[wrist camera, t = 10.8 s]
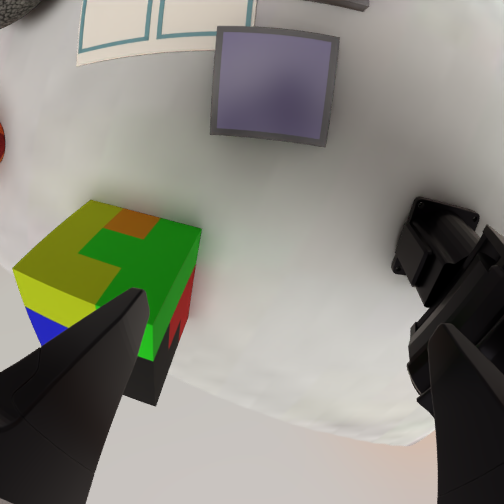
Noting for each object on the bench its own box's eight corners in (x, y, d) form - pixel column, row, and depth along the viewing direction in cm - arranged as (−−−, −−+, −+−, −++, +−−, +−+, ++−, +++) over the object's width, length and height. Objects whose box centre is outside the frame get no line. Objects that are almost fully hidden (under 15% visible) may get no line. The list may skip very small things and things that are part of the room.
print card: (262, -50, 10) (261, -52, 10) (252, 51, 15) (251, 50, 14) (87, -23, 11) (85, -23, 11) (78, 66, 15) (75, 66, 15)
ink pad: (336, 40, 14) (341, 36, 12) (323, 143, 17) (326, 148, 16) (221, 29, 14) (215, 24, 13) (214, 131, 18) (208, 135, 16)
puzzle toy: (98, 287, 27) (48, 360, 19) (91, 199, 21) (12, 268, 13) (188, 317, 27) (155, 406, 19) (202, 228, 22) (152, 325, 13)
